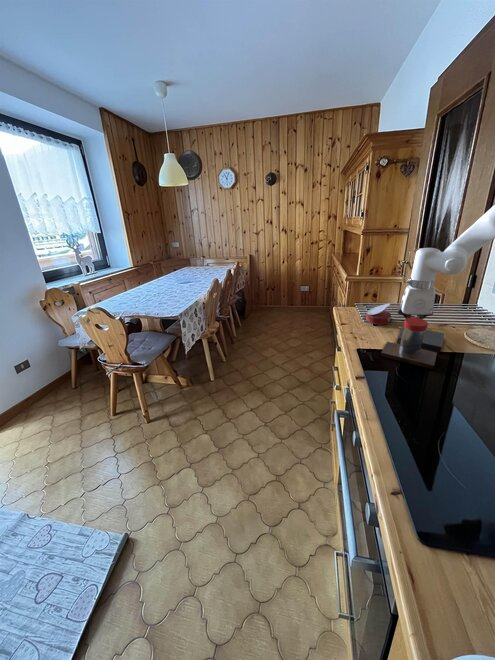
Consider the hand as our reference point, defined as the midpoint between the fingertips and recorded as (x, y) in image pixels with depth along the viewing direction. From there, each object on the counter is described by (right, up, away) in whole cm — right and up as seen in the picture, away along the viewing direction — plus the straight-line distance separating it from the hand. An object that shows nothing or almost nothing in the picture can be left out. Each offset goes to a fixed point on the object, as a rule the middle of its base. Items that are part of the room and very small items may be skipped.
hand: (411, 328), depth 111 cm
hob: (+2, -5, -3) cm, 6 cm away
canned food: (-6, +4, +15) cm, 17 cm away
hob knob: (0, -1, 0) cm, 1 cm away
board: (-8, -10, -11) cm, 17 cm away
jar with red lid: (-8, -9, -12) cm, 17 cm away
